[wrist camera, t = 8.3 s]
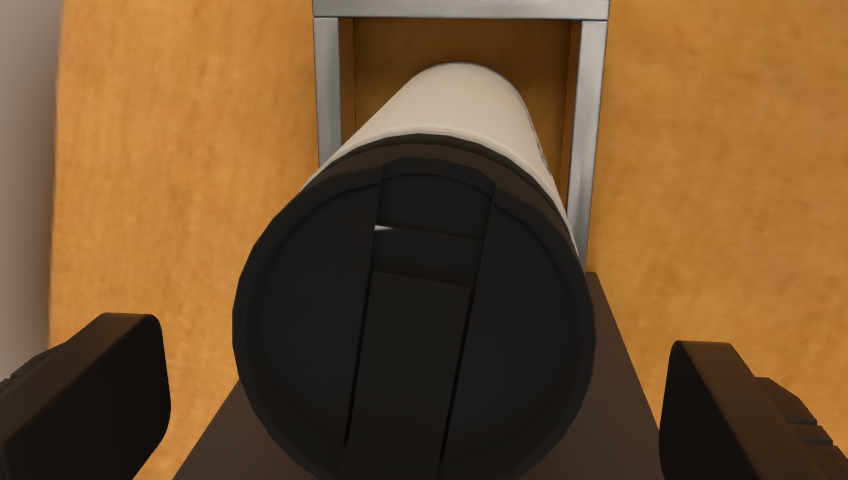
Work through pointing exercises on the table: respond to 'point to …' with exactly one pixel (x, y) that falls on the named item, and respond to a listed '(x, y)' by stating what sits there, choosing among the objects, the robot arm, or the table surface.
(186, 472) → the coffee maker
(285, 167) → the table surface
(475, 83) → the travel mug
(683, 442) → the robot arm
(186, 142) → the table surface
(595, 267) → the table surface
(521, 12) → the frame
